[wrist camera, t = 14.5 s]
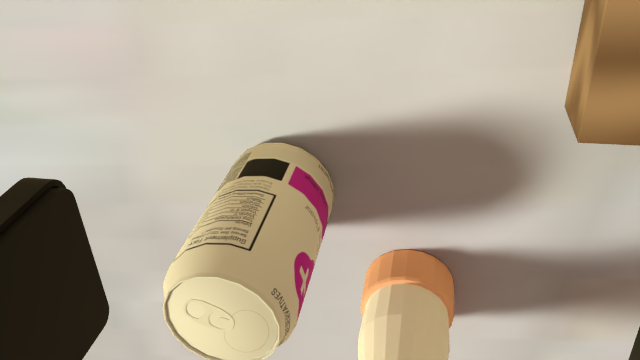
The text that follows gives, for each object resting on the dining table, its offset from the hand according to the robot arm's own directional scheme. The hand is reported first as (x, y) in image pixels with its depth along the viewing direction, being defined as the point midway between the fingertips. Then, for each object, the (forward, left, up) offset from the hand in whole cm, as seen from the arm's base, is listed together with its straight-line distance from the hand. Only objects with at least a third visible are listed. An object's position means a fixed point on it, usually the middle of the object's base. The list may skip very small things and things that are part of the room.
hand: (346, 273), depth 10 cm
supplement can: (+18, -10, -31) cm, 37 cm away
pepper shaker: (+27, 0, -31) cm, 41 cm away
